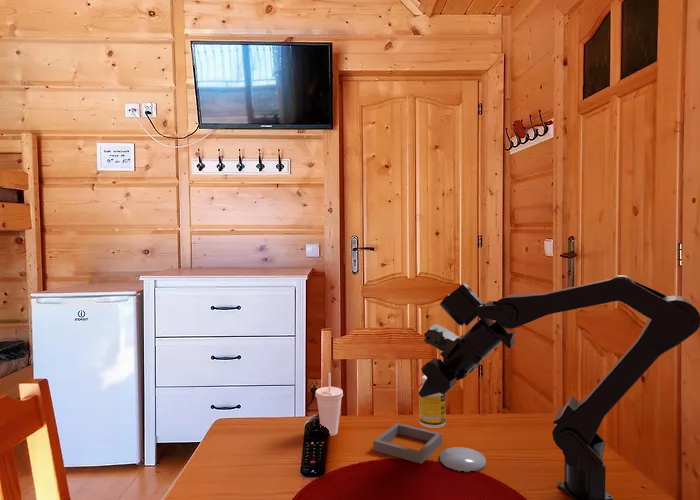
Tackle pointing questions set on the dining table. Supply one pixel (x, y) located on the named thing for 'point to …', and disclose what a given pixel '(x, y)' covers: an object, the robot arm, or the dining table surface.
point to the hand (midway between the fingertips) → (425, 391)
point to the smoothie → (329, 406)
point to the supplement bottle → (432, 409)
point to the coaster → (462, 459)
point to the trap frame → (404, 452)
